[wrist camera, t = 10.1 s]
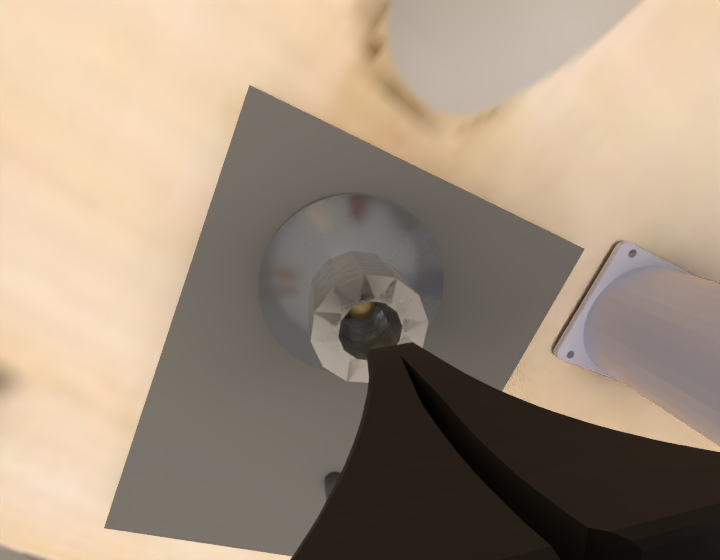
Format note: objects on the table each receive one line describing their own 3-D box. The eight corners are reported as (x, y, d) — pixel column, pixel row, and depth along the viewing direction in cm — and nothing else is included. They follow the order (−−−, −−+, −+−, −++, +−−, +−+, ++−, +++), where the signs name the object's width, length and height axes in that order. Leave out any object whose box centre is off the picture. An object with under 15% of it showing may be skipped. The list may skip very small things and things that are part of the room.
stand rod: (346, 473, 22) (352, 508, 20) (339, 488, 22) (343, 525, 20) (328, 469, 22) (331, 505, 19) (321, 485, 22) (323, 521, 20)
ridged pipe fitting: (407, 257, 17) (437, 282, 13) (391, 340, 18) (414, 385, 14) (315, 245, 16) (319, 268, 12) (304, 334, 17) (305, 379, 14)
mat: (571, 245, 21) (584, 248, 20) (393, 557, 26) (397, 571, 25) (252, 90, 16) (249, 85, 15) (112, 512, 21) (104, 528, 20)
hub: (464, 235, 18) (498, 248, 15) (391, 379, 20) (409, 418, 17) (299, 161, 16) (299, 159, 13) (235, 331, 18) (221, 367, 15)
